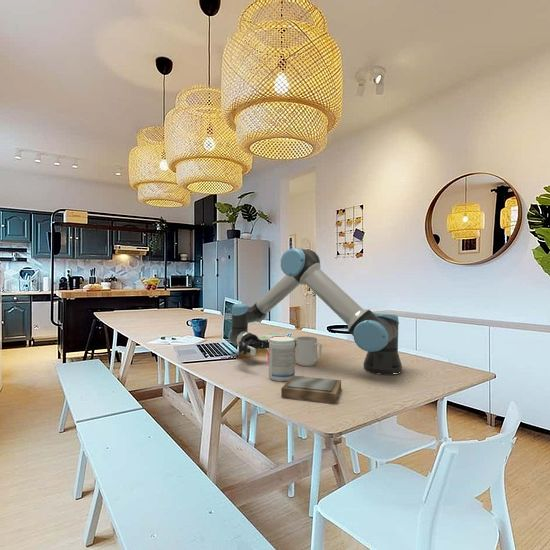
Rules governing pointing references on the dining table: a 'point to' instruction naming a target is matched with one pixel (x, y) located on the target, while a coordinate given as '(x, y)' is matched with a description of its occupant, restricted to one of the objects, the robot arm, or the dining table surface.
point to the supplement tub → (281, 358)
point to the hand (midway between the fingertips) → (270, 351)
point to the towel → (274, 335)
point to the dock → (311, 389)
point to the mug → (307, 351)
